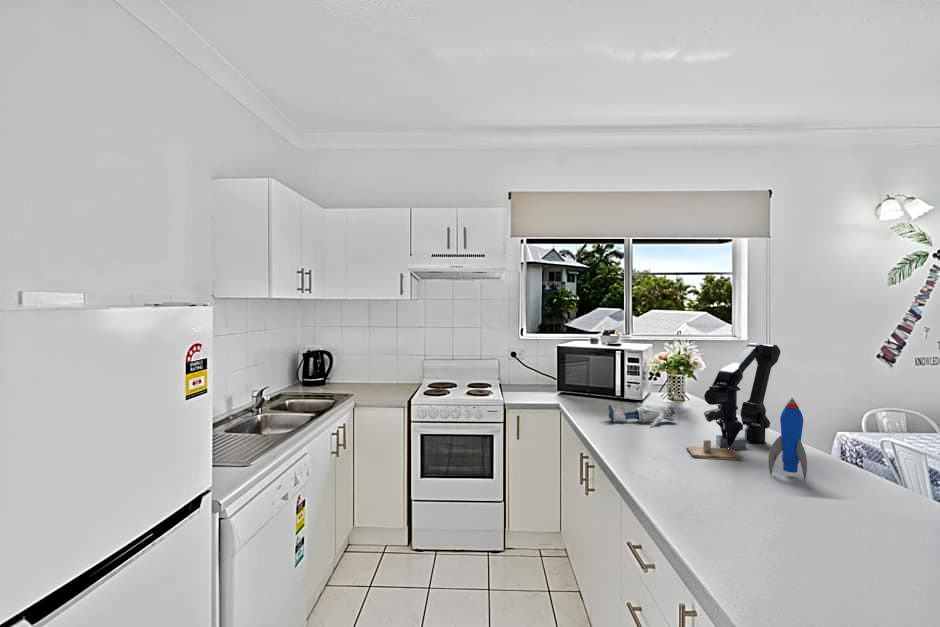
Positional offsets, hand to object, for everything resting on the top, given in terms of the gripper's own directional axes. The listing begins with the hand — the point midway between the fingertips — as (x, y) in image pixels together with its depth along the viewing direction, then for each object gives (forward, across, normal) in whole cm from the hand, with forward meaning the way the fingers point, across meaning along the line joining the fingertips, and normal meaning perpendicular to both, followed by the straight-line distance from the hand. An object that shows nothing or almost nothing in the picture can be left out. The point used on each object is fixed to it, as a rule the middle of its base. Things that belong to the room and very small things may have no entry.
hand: (727, 443), depth 222 cm
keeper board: (+1, +13, -8) cm, 15 cm away
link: (+1, 0, +2) cm, 2 cm away
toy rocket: (+2, +35, +9) cm, 36 cm away
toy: (+2, -39, -27) cm, 47 cm away
